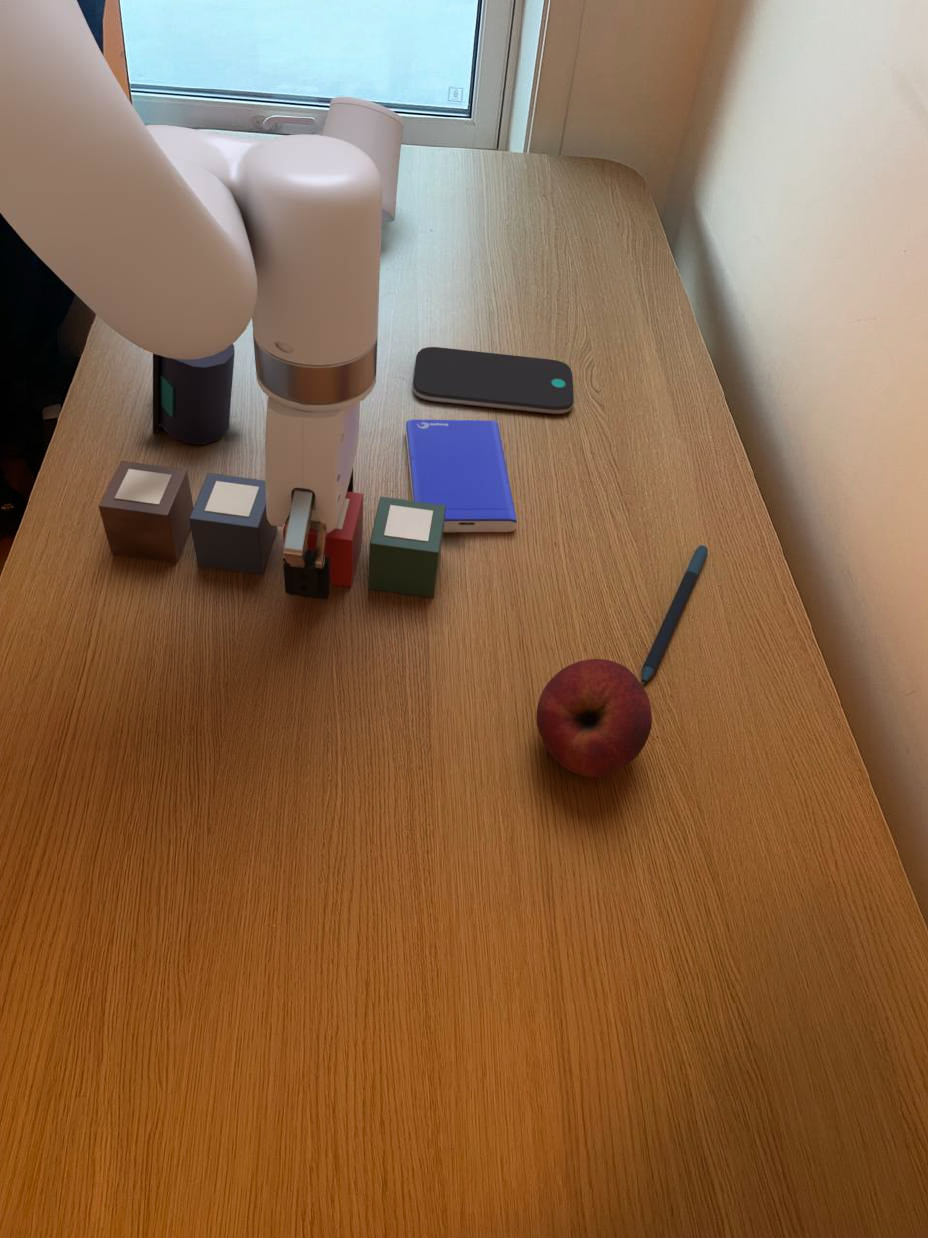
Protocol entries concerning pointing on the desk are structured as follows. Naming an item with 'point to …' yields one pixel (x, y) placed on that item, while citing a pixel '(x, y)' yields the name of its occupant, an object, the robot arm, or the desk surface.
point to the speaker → (193, 396)
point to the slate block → (232, 524)
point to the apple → (594, 717)
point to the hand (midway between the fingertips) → (320, 547)
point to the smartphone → (493, 380)
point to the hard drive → (461, 473)
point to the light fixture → (370, 140)
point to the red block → (342, 540)
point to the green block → (406, 547)
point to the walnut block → (147, 511)
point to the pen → (673, 614)
